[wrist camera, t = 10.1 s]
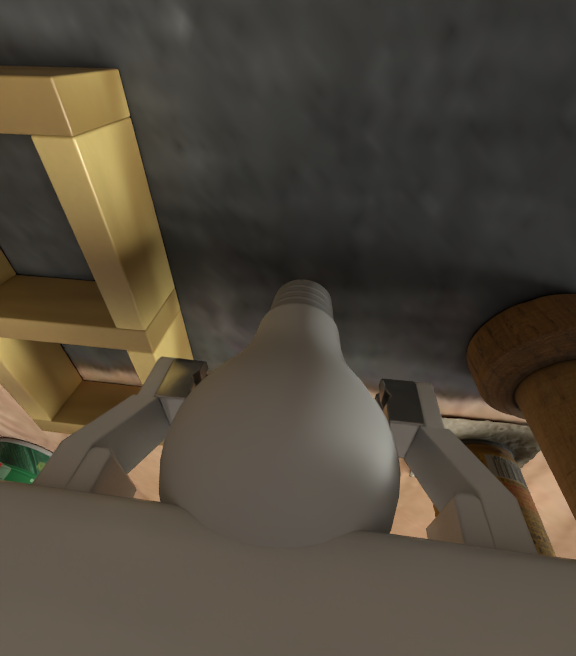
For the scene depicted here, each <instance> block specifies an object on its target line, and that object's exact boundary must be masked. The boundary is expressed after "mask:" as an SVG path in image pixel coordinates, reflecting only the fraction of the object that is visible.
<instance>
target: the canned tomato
mask: <svg viewBox="0 0 576 656" xmlns="http://www.w3.org/2000/svg"><path fill="white" fill-rule="evenodd" d="M52 454H53V453H51V452H49V451H48V450H46V449H43V448H41V447H39V446H36V445H34V444H31V443H28V442H24V441H21V440H16V439H10V438H0V480H5V481H12V482H20V483H27V484H32V483H33V481H34V480H35V478H36V477H37V476H38V474H39V473H40V471H41V470H42V469H43V467H44V466H45V464H46V463H47V461H48V460H49V459H50V457H51V456H52Z"/></svg>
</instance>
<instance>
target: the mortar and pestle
mask: <svg viewBox="0 0 576 656" xmlns="http://www.w3.org/2000/svg"><path fill="white" fill-rule="evenodd" d="M466 359H467V364H468V367H469V370H470V372H471V374H472V376H473V379H474V381H475V383H476V386H477V388H478V391H479V393H480V395H481V397H482V398H483V399H484V401H485V402H486V403H487V404H488V405H489V406H491V407H492V408H494V409H496V410H498V411H500V412H503V413H506V414H509V415H513V416H516V417H519V418H522V419H526V421H527V423H528V425H529V427H530V429H531V431H532V433H533V435H534V437H535V439H536V441H537V443H538V445H539V447H540V449H541V451H542V453H543V455H544V457H545V459H546V461H547V463H548V465H549V467H550V469H551V471H552V473H553V475H554V477H555V479H556V481H557V483H558V485H559V487H560V489H561V491H562V493H563V495H564V497H565V499H566V501H567V503H568V505H569V508H570V510H571V512H572V514H573V516H574V518H575V520H576V294H557V295H550V296H544V297H540V298H538V299H535V300H532V301H529V302H526V303H522V304H518V305H515V306H513V307H511V308H509V309H507V310H505V311H503V312H501V313H500V314H498V315H496V316H495V317H493V318H492V319H491V320H489V321H488V322H487V323H486V324H484V325H483V326H482V327H481V328H480V329H479V330H478V332H477V333H476V334H475V335H474V336H473V338H472V339H471V341H470V343H469V346H468V349H467V355H466Z"/></svg>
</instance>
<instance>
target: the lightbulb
mask: <svg viewBox="0 0 576 656" xmlns="http://www.w3.org/2000/svg"><path fill="white" fill-rule="evenodd" d="M399 488H400V466H399V459H398V453H397V448H396V443H395V439H394V436H393V434H392V431H391V429H390V426H389V424H388V421H387V419H386V416H385V415H384V413H383V411H382V410H381V408H380V406H379V405H378V403H377V402H376V400H375V399H374V398H373V396H372V395H371V394H370V392H369V391H368V389H367V388H366V387H365V385H364V384H363V383H362V381H361V380H360V379H359V378H358V377H357V376H356V375H355V374H354V372H353V371H352V370H351V369H350V368H349V367H348V365H347V363H346V361H345V359H344V358H343V355H342V351H341V348H340V338H339V332H338V328H337V326H336V324H335V322H334V321H333V308H332V301H331V297H330V295H329V293H328V292H327V290H326V289H325V288H324V287H322V286H321V285H320V284H318V283H316V282H313V281H310V280H294V281H290V282H288V283H286V284H284V285H283V286H282V287H281V288H280V289H279V290H278V291H277V293H276V296H275V297H274V300H273V303H272V305H271V309H270V311H269V312H268V313H267V314H266V315H265V316H264V317H263V319H262V321H261V322H260V324H259V327H258V329H257V332H256V335H255V336H254V338H253V340H252V341H251V343H250V344H249V345H248V346H247V347H246V348H245V349H244V350H243V351H242V352H241V353H239V354H237V355H236V356H234V357H233V358H231V359H229V360H228V361H226V362H225V363H223V364H222V365H221V366H220V367H218V368H217V369H216V370H214V371H213V372H212V373H211V374H209V375H208V376H207V377H205V378H204V379H203V380H202V381H201V382H200V383H199V384H198V385H197V386H196V387H195V388H194V389H193V390H192V391H191V393H190V394H189V395H188V397H187V398H186V399H185V400H184V402H183V403H182V404H181V406H180V407H179V409H178V411H177V413H176V415H175V417H174V419H173V421H172V423H171V426H170V428H169V430H168V432H167V435H166V437H165V441H164V445H163V450H162V455H161V459H160V477H159V496H160V501H161V502H164V503H172V504H176V505H179V506H180V507H182V508H184V509H186V510H187V511H188V512H190V513H191V514H192V515H193V516H194V517H195V518H196V519H197V520H198V521H199V522H201V523H202V524H203V525H205V526H206V527H208V528H210V529H212V530H214V531H215V532H217V533H219V534H222V535H224V536H227V537H229V538H232V539H234V540H237V541H240V542H244V543H248V544H252V545H256V546H263V547H274V548H287V547H302V546H308V545H313V544H319V543H324V542H327V541H329V540H331V539H333V538H335V537H337V536H340V535H342V534H346V533H349V532H352V531H357V530H366V531H374V532H381V533H388V534H389V533H390V531H391V528H392V524H393V519H394V515H395V511H396V507H397V503H398V498H399Z"/></svg>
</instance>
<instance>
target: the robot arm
mask: <svg viewBox="0 0 576 656" xmlns="http://www.w3.org/2000/svg"><path fill="white" fill-rule="evenodd" d="M207 371H208V365H207V362H205V361H197V360H189V359H182V358H172V357H164V356H162V357H160V358H159V359H158V360H157V362H156V364H155V365H154V367H153V369H152V370H151V372H150V374H149V376H148V377H147V379H146V381H145V382H144V384H143V386H142V388H141V389H140V391H139V393H138V394H137V395H134V394H133V395H131V396H130V397H128V398H127V399H125V400H124V401H122V402H121V403H119V404H118V405H116V406H115V407H113V408H112V409H110V410H108V411H107V412H105V413H104V414H102V415H101V416H99V417H98V418H96V419H95V420H93V421H92V422H90V423H89V424H87V425H86V426H84V427H82V428H81V429H79V430H78V431H76V432H75V433H73V434H72V435H70V436H69V437H67V438H66V439H64V440H63V441H62V442H61V443H60V444H59V446H58V447H57V449H56V450H55V452H54V453H53V454H52V456H51V457H50V459H49V460H48V461H47V463H46V464H45V466H44V467H43V469H42V470H41V471H40V473H39V474H38V476H37V477H36V478H35V480H34V481H33V483H32V484H27V483H20V482H12V481H5V480H0V656H576V560H575V559H568V558H561V557H554V556H547V555H539V554H538V553H537V550H536V548H535V545H534V543H533V540H532V537H531V535H530V532H529V530H528V527H527V524H526V522H525V519H524V517H523V514H522V511H521V509H520V506H519V504H518V501H517V498H516V497H515V496H514V495H513V494H512V493H511V492H510V491H509V490H508V489H507V488H506V487H505V486H504V485H503V484H502V483H501V482H500V481H499V480H498V479H497V478H496V477H495V476H494V475H493V474H492V473H491V472H490V471H489V470H488V468H487V467H486V466H485V465H484V464H483V463H482V462H481V461H480V460H479V459H478V458H477V457H476V456H475V455H474V454H473V453H472V452H471V451H470V450H469V449H468V448H467V447H466V446H465V445H464V444H463V443H462V442H461V441H460V440H459V438H458V437H457V436H456V435H455V434H454V433H453V432H452V431H451V430H450V429H445V428H444V424H443V421H442V417H441V414H440V410H439V406H438V403H437V399H436V396H435V392H434V388H433V386H432V384H431V383H423V382H413V381H404V380H393V379H381V381H380V383H379V393H378V394H376V396H375V400H376V402H377V403H378V405H379V406H380V408H381V410H382V411H383V413H384V415H385V416H386V419H387V421H388V424H389V426H390V429H391V431H392V434H393V436H394V439H395V443H396V448H397V453H398V457H401V458H404V460H405V462H406V463H407V465H408V466H409V468H410V469H411V471H412V472H413V474H414V475H415V477H416V478H417V480H418V481H419V483H420V484H421V486H422V487H423V489H424V490H425V492H426V493H427V495H428V496H429V498H430V499H431V501H432V502H433V504H434V505H435V507H436V508H437V510H438V511H439V514H438V515H437V517H436V518H435V519H434V520H433V521H432V523H431V524H430V525H429V526H428V527H427V528H426V531H427V537H428V539H424V538H417V537H410V536H403V535H395V534H388V533H381V532H374V531H366V530H357V531H352V532H349V533H346V534H342V535H340V536H337V537H335V538H333V539H331V540H329V541H327V542H324V543H319V544H313V545H308V546H302V547H287V548H274V547H263V546H256V545H252V544H248V543H244V542H240V541H237V540H234V539H232V538H229V537H227V536H224V535H222V534H219V533H217V532H215V531H214V530H212V529H210V528H208V527H206V526H205V525H203V524H202V523H201V522H199V521H198V520H197V519H196V518H195V517H194V516H193V515H192V514H191V513H190V512H188V511H187V510H186V509H184V508H182V507H180V506H179V505H176V504H172V503H164V502H157V501H150V500H143V499H136V498H133V496H134V494H135V492H136V487H135V485H134V483H133V482H132V481H131V479H130V478H129V476H128V475H127V474H128V473H129V472H130V471H131V470H132V469H133V468H134V467H135V466H136V465H137V464H139V463H140V462H141V461H142V460H143V459H144V458H145V457H146V456H147V455H148V454H149V453H150V452H151V451H152V450H153V449H155V448H156V447H157V446H158V445H159V444H160V443H161V442H162V441H163V440H164V439H165V437H166V435H167V432H168V430H169V428H170V426H171V423H172V421H173V419H174V417H175V415H176V413H177V411H178V409H179V407H180V406H181V404H182V403H183V402H184V400H185V399H186V398H187V397H188V395H189V394H190V393H191V391H192V390H193V389H194V388H195V387H196V386H197V385H198V384H199V383H200V382H201V381H202V380H203V379H204V378H205V377H207V376H208V375H207Z"/></svg>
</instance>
